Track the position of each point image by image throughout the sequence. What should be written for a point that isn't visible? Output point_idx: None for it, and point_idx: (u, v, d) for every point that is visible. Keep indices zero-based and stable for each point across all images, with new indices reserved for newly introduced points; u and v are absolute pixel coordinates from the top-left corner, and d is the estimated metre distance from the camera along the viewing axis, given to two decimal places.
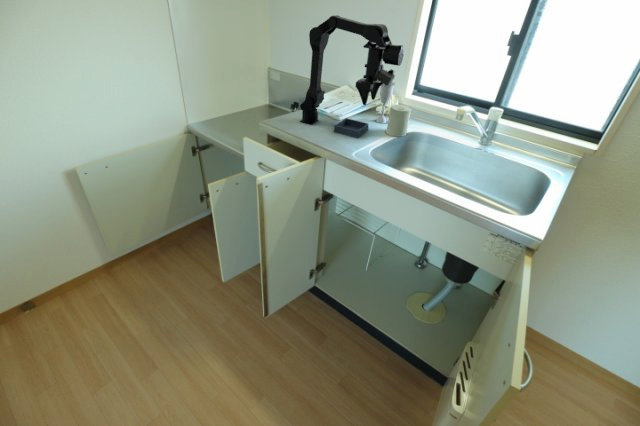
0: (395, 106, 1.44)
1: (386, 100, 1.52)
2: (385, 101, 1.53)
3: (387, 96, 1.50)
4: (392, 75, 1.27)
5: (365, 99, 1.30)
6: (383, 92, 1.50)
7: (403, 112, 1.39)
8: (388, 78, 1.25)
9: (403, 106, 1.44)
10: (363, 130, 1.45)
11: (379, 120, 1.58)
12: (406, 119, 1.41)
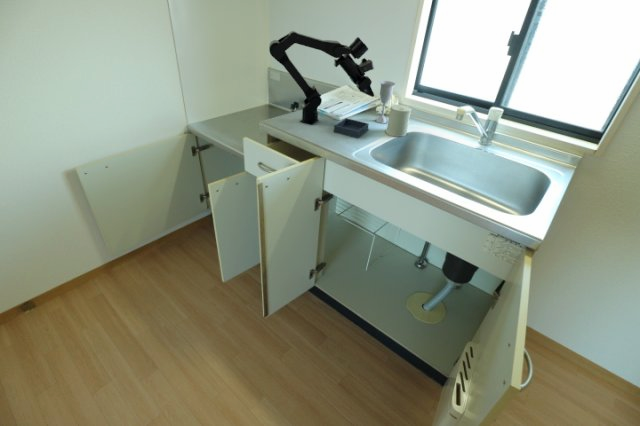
0: (395, 106, 1.44)
1: (386, 100, 1.52)
2: (385, 101, 1.53)
3: (387, 96, 1.50)
4: (368, 60, 1.44)
5: (371, 91, 1.45)
6: (383, 92, 1.50)
7: (403, 112, 1.39)
8: (370, 63, 1.41)
9: (403, 106, 1.44)
10: (363, 130, 1.45)
11: (379, 120, 1.58)
12: (406, 119, 1.41)
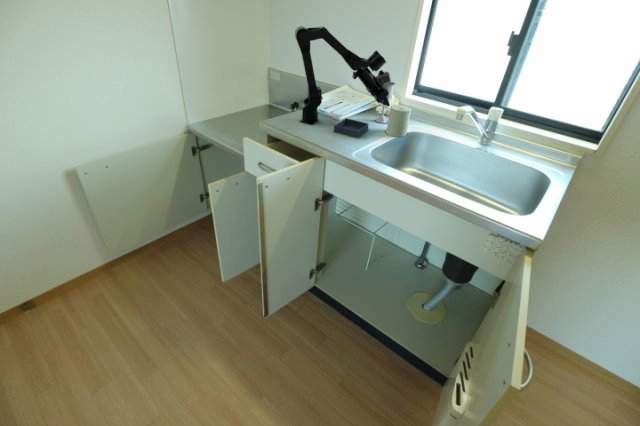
0: (395, 106, 1.44)
1: None
2: None
3: (388, 96, 1.50)
4: (385, 72, 1.48)
5: (387, 101, 1.51)
6: None
7: (403, 112, 1.39)
8: (388, 75, 1.46)
9: (403, 106, 1.44)
10: (363, 130, 1.45)
11: (379, 120, 1.58)
12: (406, 119, 1.41)
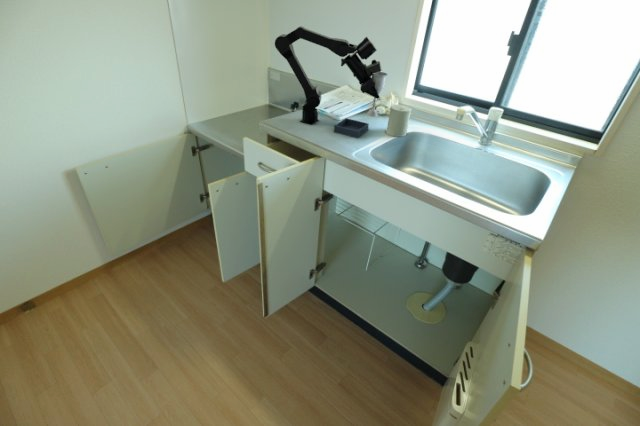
0: (395, 106, 1.44)
1: None
2: None
3: (377, 87, 1.40)
4: (377, 62, 1.39)
5: (376, 93, 1.41)
6: None
7: (403, 112, 1.39)
8: (378, 65, 1.36)
9: (403, 106, 1.44)
10: (363, 130, 1.45)
11: (369, 113, 1.49)
12: (406, 119, 1.41)
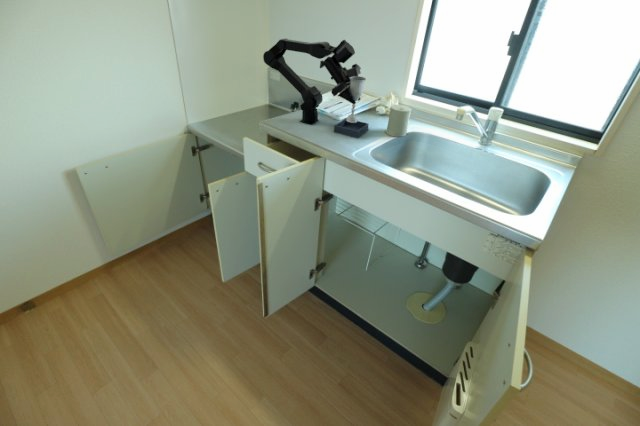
0: (395, 106, 1.44)
1: (353, 97, 1.37)
2: None
3: (353, 92, 1.36)
4: (356, 66, 1.34)
5: (351, 98, 1.36)
6: None
7: (403, 112, 1.39)
8: (353, 69, 1.31)
9: (403, 106, 1.44)
10: (363, 130, 1.45)
11: (347, 118, 1.44)
12: (406, 119, 1.41)
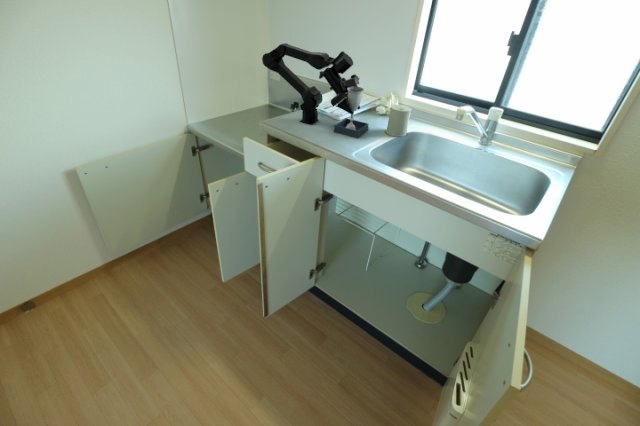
0: (395, 106, 1.44)
1: (351, 107, 1.40)
2: None
3: (351, 103, 1.38)
4: (355, 77, 1.36)
5: (349, 108, 1.38)
6: None
7: (403, 112, 1.39)
8: (352, 80, 1.34)
9: (403, 106, 1.44)
10: (363, 130, 1.45)
11: None
12: (406, 119, 1.41)
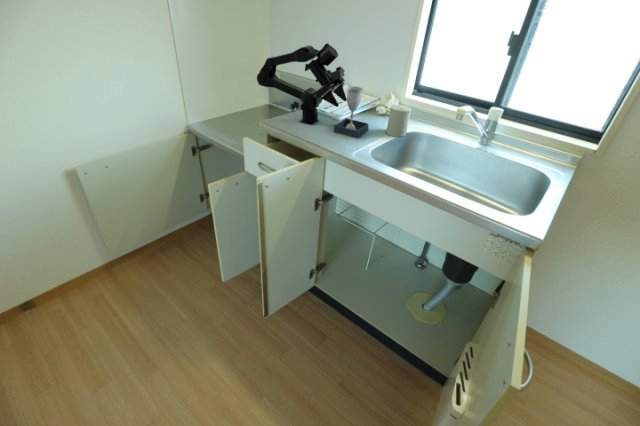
0: (395, 106, 1.44)
1: (351, 107, 1.40)
2: (350, 108, 1.41)
3: (351, 102, 1.38)
4: (340, 69, 1.37)
5: (334, 101, 1.38)
6: (347, 98, 1.39)
7: (403, 112, 1.39)
8: (337, 71, 1.35)
9: (403, 106, 1.44)
10: (363, 130, 1.45)
11: None
12: (406, 119, 1.41)
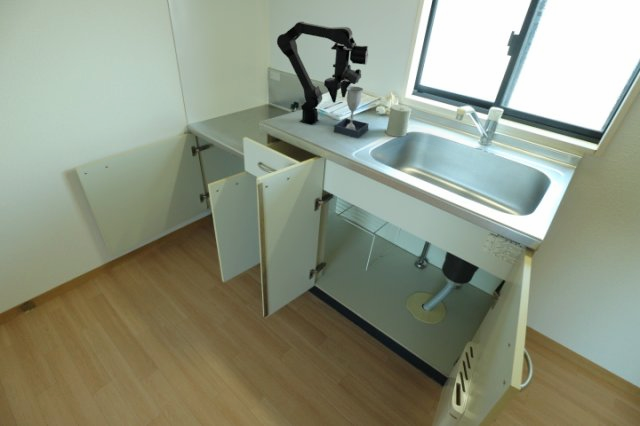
0: (395, 106, 1.44)
1: (351, 107, 1.40)
2: (350, 108, 1.41)
3: (351, 102, 1.38)
4: (358, 74, 1.37)
5: (334, 97, 1.40)
6: (347, 98, 1.39)
7: (403, 112, 1.39)
8: (354, 77, 1.34)
9: (403, 106, 1.44)
10: (363, 130, 1.45)
11: None
12: (406, 119, 1.41)
